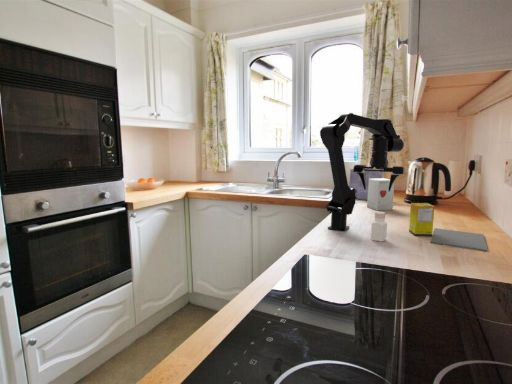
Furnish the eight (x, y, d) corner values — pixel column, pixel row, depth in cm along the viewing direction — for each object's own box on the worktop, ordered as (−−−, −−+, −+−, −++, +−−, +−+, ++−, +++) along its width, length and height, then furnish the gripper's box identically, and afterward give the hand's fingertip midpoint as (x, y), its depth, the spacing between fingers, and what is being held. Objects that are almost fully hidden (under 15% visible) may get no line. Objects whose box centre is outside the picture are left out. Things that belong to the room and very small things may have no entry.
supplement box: (425, 232, 115) (427, 202, 114) (432, 236, 109) (435, 206, 108) (408, 231, 116) (410, 202, 114) (414, 236, 110) (417, 205, 108)
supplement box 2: (377, 210, 152) (378, 180, 150) (366, 207, 161) (368, 178, 159) (393, 209, 154) (395, 179, 152) (381, 206, 163) (383, 177, 161)
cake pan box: (383, 200, 182) (385, 169, 179) (381, 201, 178) (383, 170, 175) (350, 197, 192) (351, 168, 189) (347, 198, 188) (349, 168, 185)
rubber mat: (487, 251, 94) (487, 249, 94) (430, 243, 102) (430, 241, 102) (483, 235, 111) (483, 234, 111) (434, 229, 119) (434, 228, 119)
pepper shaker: (386, 240, 105) (388, 212, 104) (381, 242, 103) (383, 214, 101) (375, 237, 108) (376, 210, 107) (370, 240, 105) (371, 212, 104)
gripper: (407, 152, 127) (404, 190, 129) (360, 151, 136) (357, 186, 138) (404, 152, 117) (401, 193, 119) (354, 151, 127) (351, 189, 129)
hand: (377, 190), depth 127 cm, fingers open, 9 cm apart
